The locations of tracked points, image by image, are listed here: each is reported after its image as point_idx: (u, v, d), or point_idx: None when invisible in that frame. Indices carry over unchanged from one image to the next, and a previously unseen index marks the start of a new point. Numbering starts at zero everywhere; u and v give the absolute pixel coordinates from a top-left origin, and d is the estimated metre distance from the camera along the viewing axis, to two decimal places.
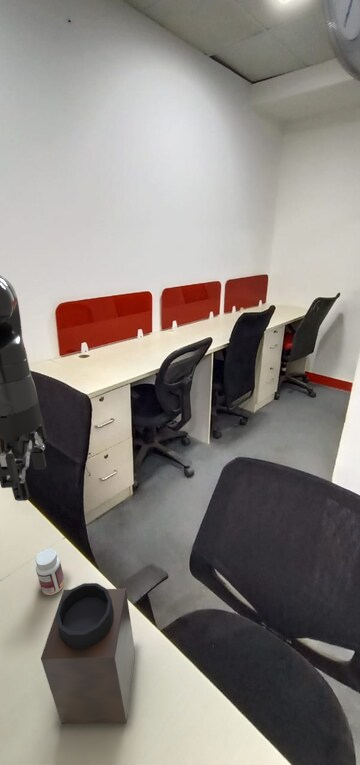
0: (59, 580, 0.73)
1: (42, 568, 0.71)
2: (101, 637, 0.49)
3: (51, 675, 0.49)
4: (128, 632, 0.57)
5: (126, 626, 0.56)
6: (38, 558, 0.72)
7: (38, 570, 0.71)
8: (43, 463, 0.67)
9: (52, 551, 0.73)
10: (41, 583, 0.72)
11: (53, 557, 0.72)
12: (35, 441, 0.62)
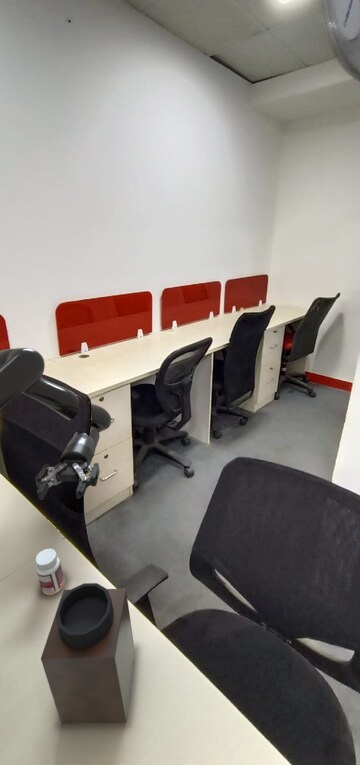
0: (59, 580, 0.73)
1: (42, 568, 0.71)
2: (101, 637, 0.49)
3: (51, 675, 0.49)
4: (128, 632, 0.57)
5: (126, 626, 0.56)
6: (38, 558, 0.72)
7: (38, 570, 0.71)
8: (44, 495, 0.82)
9: (52, 551, 0.73)
10: (41, 583, 0.72)
11: (53, 557, 0.72)
12: None
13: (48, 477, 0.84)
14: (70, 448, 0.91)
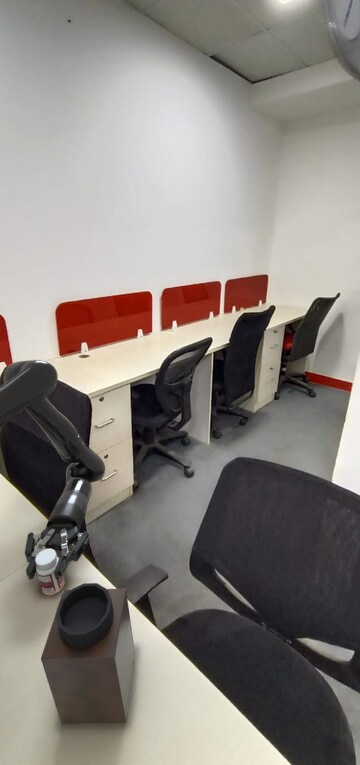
0: (59, 580, 0.73)
1: (42, 568, 0.71)
2: (101, 637, 0.49)
3: (51, 675, 0.49)
4: (128, 632, 0.57)
5: (126, 626, 0.56)
6: (38, 558, 0.72)
7: (38, 570, 0.71)
8: (34, 574, 0.72)
9: (52, 551, 0.73)
10: (41, 583, 0.72)
11: (53, 557, 0.72)
12: None
13: (38, 550, 0.75)
14: (59, 510, 0.82)
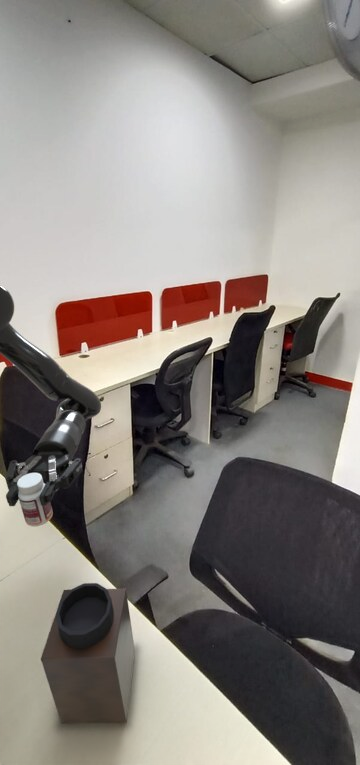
0: (46, 509, 0.62)
1: (25, 492, 0.59)
2: (101, 637, 0.49)
3: (51, 675, 0.49)
4: (128, 632, 0.57)
5: (126, 626, 0.56)
6: (20, 481, 0.61)
7: (20, 495, 0.60)
8: (16, 501, 0.61)
9: (37, 475, 0.62)
10: (24, 512, 0.61)
11: (38, 480, 0.60)
12: None
13: (21, 476, 0.64)
14: (47, 437, 0.71)
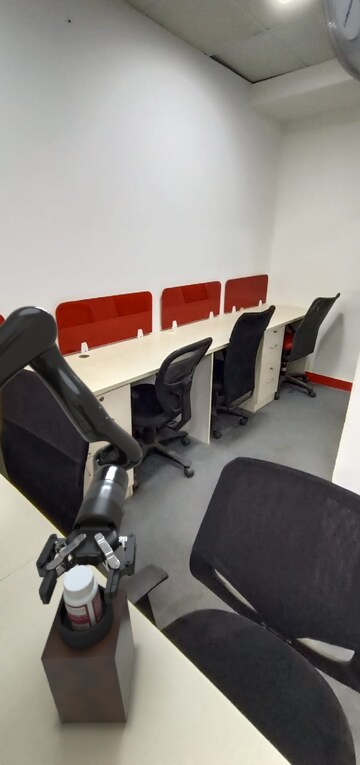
0: (97, 612, 0.50)
1: (74, 596, 0.47)
2: (101, 637, 0.49)
3: (51, 675, 0.49)
4: (128, 632, 0.57)
5: (126, 626, 0.56)
6: (66, 580, 0.49)
7: (67, 598, 0.48)
8: (51, 595, 0.49)
9: (87, 569, 0.50)
10: (71, 617, 0.49)
11: (89, 579, 0.49)
12: None
13: (57, 561, 0.52)
14: (90, 507, 0.59)
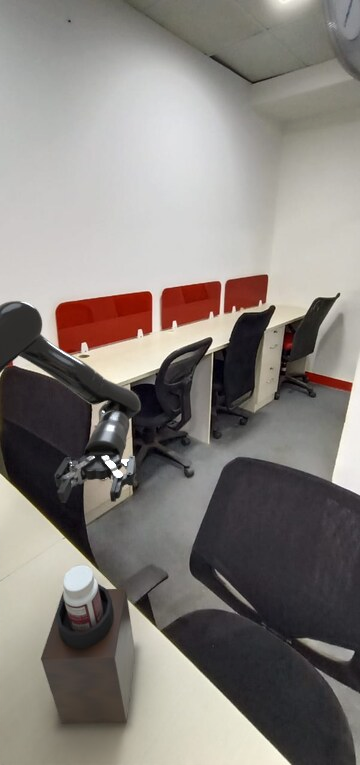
0: (97, 612, 0.50)
1: (74, 596, 0.47)
2: (101, 637, 0.49)
3: (51, 675, 0.49)
4: (128, 632, 0.57)
5: (126, 626, 0.56)
6: (66, 580, 0.49)
7: (67, 598, 0.48)
8: (67, 497, 0.62)
9: (87, 569, 0.50)
10: (71, 617, 0.49)
11: (89, 579, 0.49)
12: None
13: (71, 473, 0.64)
14: (97, 437, 0.71)
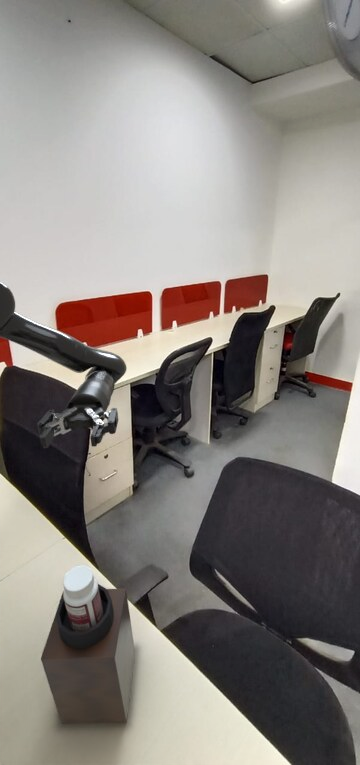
0: (97, 612, 0.50)
1: (74, 596, 0.47)
2: (101, 637, 0.49)
3: (51, 675, 0.49)
4: (128, 632, 0.57)
5: (126, 626, 0.56)
6: (66, 580, 0.49)
7: (67, 598, 0.48)
8: (49, 443, 0.63)
9: (87, 569, 0.50)
10: (71, 617, 0.49)
11: (89, 579, 0.49)
12: None
13: (54, 422, 0.66)
14: (81, 391, 0.72)
